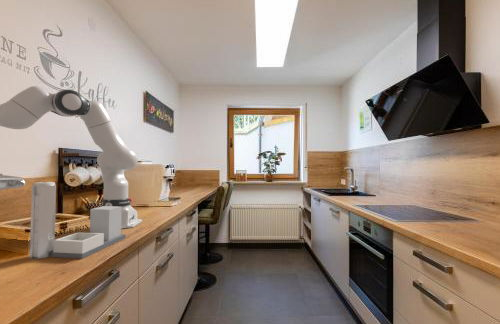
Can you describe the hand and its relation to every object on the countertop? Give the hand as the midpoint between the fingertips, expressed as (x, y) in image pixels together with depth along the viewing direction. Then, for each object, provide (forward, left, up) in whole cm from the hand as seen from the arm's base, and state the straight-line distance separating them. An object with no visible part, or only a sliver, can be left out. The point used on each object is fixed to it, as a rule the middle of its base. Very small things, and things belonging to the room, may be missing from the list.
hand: (10, 183), depth 87 cm
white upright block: (-1, +12, -24) cm, 27 cm away
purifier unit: (-12, +22, -24) cm, 35 cm away
